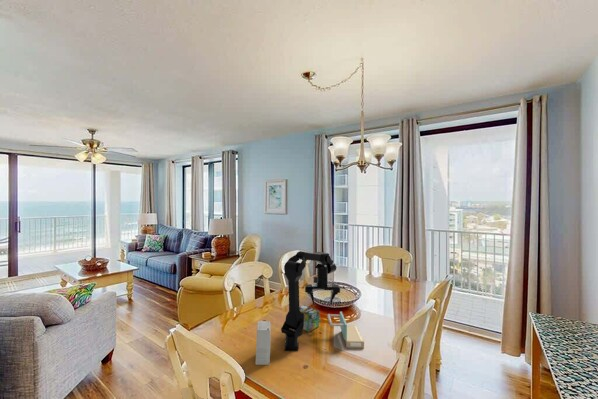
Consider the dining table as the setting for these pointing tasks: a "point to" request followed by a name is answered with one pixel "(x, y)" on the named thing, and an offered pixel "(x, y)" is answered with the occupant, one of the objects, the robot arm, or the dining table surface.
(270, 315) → the dining table surface
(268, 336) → the skincare box
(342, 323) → the lid flap
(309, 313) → the chalk box
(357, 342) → the carton
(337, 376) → the dining table surface
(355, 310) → the dining table surface
